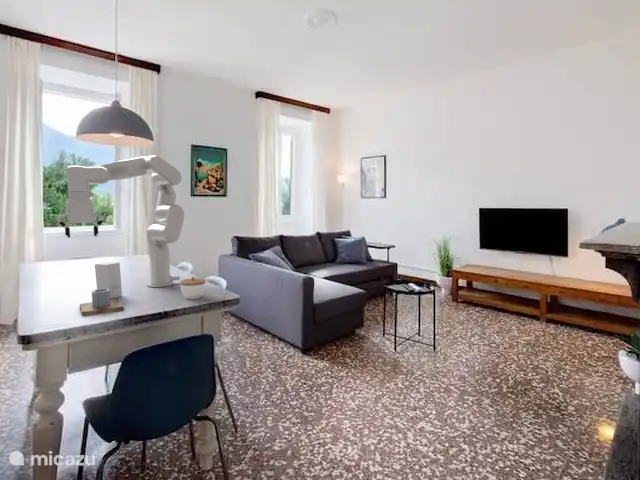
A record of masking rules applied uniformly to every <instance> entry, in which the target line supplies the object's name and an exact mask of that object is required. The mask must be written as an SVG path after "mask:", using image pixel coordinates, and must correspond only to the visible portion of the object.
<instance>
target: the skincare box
mask: <svg viewBox="0 0 640 480" xmlns="http://www.w3.org/2000/svg"><path fill="white" fill-rule="evenodd" d="M120 264H121V263H120V262H113V261H112V262H111V261H104V262H100V263H99V262H98V263H95V264H94V269H95V270H94V271H95V280H96V290H97V289H109V290H110V300H114V299H115V298H116V299H117V298H120V297H122V296H123V290H122V289H123V288H122V276H121V265H120Z"/></svg>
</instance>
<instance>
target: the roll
mask: <svg viewBox="0 0 640 480" xmlns="http://www.w3.org/2000/svg"><path fill="white" fill-rule="evenodd" d="M110 300H111V299H110V290H109V289H97V288H96V289H94V290H91V302H92V306H93V307H105V306H108V305H110Z"/></svg>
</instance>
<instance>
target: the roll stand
mask: <svg viewBox="0 0 640 480" xmlns="http://www.w3.org/2000/svg"><path fill="white" fill-rule="evenodd" d="M124 308H125V307H124V305H123V303H122V302H121V300H120V299H119V298H116V299H115V298H114V299H110V305H108V306H105V307H93V306H92V301H91V302H85V303H79V309H80V312H81V316H82V317H83V316H84V317H85V316H92V315H97V314H107V313H111V312H112V313H113V312H120V311H124V310H125V309H124Z"/></svg>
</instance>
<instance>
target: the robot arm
mask: <svg viewBox="0 0 640 480" xmlns="http://www.w3.org/2000/svg"><path fill="white" fill-rule="evenodd" d="M144 175H151V181H152V182H153V184H154V186H155V187H156V189H157V192H158V197H157V201H156V205H155V209H154V215H153V216H154V219H155V220H156V221H157V222H161V224H160V223H156V224H151V225H150V226H149V227H148V228H147V230H146V240H147V244H148V251H149V252H148V254H149V279H150V280H149V281H148V282H147V284H146V287H149V288H163V287H164V288H165V287H169V286H173V285H174V281H177V280H179V281H181V280H180V279H181V278H180V275H178V276H177V275H171V269H170V268H171V267H170V266H171V265H170V262H171V261H170V259H171V258H170V248H169V245H168V244H170V245H171V244H175V243H177V242H178V241H179V239H180V236H181V233H182V229H183V225H184V220H185V211H184V209H183V207H182V206H181V205H180V204H176V198H177V194H176V190H175V188H174V187H175V186H178V185H179V184H181V182H182V180H183V176H182V173H181V172H180V170H178V169H177V168H176V167H175V166H173V165H172V164H171V163H170V162H168V161H167V160H166V159H164V158H162V157H160V156H157V155H148V156H147V155H146V156H139V157H134V158H128V159H123V160H117V161H112V162H108V163H104V164H97V165H96V164H95V165H92V166H87V167H86V166H82V165H70V166H68V167H67V168H66V177H67V189H68V190H67V191H68V199H66V202H65V203H66V204H65V213H62V214H61V215H58V216H57V217H56V221H57V222H58V224H60V225H61V226H62V227H63V228H64V230H65V231H64V234H65V236H66V237H67V238H68V239H69V238H71V231H70V225H71V224H86V223H87V224H88V223H91V224H92V225H93V236H94V237H97V236H98V235H99V227H100V225H102V223H103V222H104V219H105V218H106V217H105V216H104V215H101V214H99V213H97V212H96V211H95V205H94V203H93V201H94V200H93V199H91V198H92V197H94V196H95V193H92V192H90V191H91V190H90V185H92V186H94V185H104V184H107V183H108V182H109V181H113V180H114V181H115V180H116V181H117V180H119V181H120V180H129V179H132V178H135V177H142V176H144ZM96 217H97V218H99V220H98V221H97V222H96ZM64 218H65V219H66V222H63V220H62V219H64ZM162 223H163V224H162ZM164 223H165V224H164Z"/></svg>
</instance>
